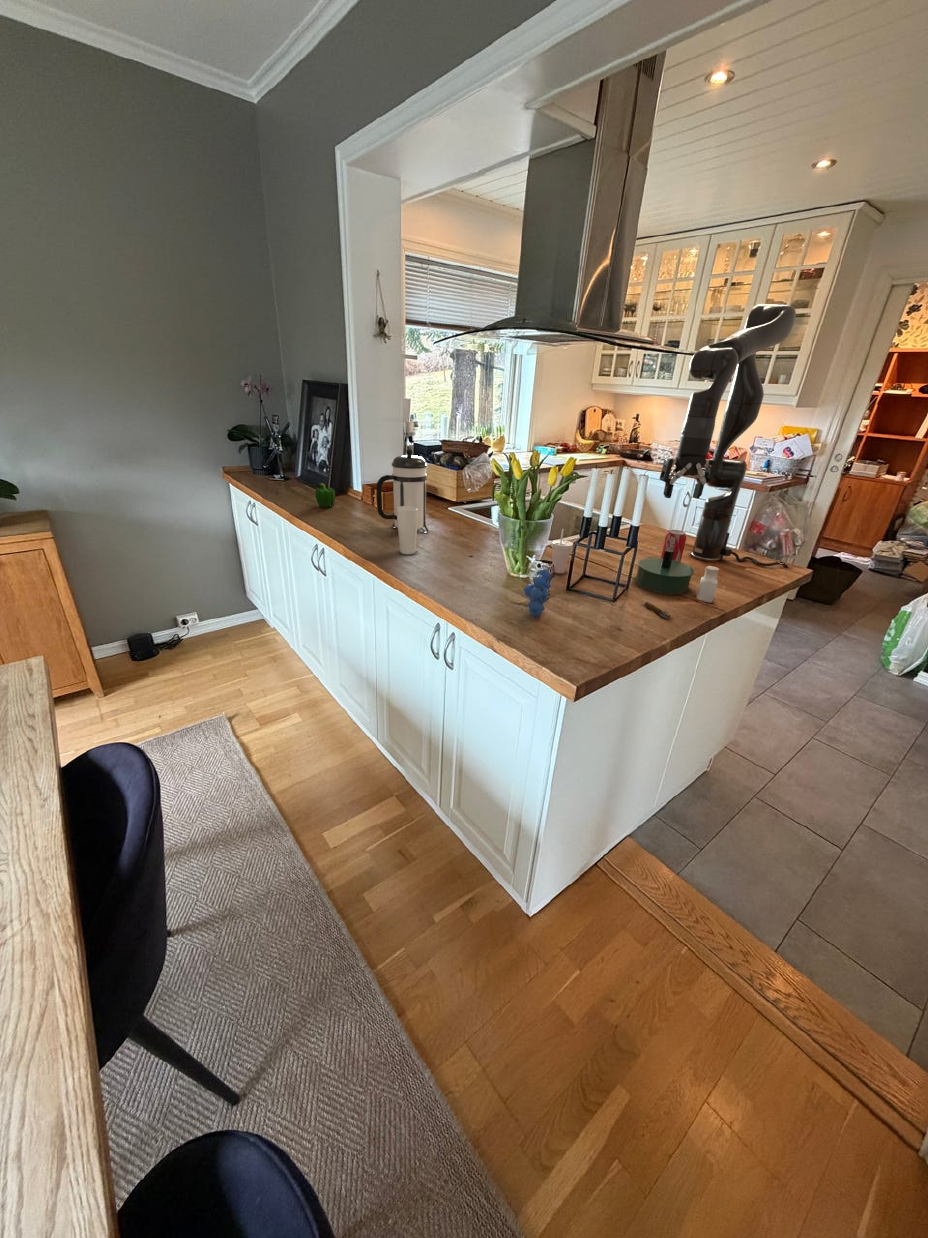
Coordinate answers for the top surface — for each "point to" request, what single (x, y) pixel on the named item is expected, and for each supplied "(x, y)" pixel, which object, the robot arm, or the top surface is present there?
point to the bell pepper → (325, 496)
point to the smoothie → (561, 553)
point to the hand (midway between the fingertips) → (681, 497)
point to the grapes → (538, 592)
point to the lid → (666, 566)
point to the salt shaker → (708, 584)
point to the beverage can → (675, 543)
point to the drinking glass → (407, 528)
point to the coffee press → (406, 487)
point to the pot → (662, 582)
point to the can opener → (657, 610)
